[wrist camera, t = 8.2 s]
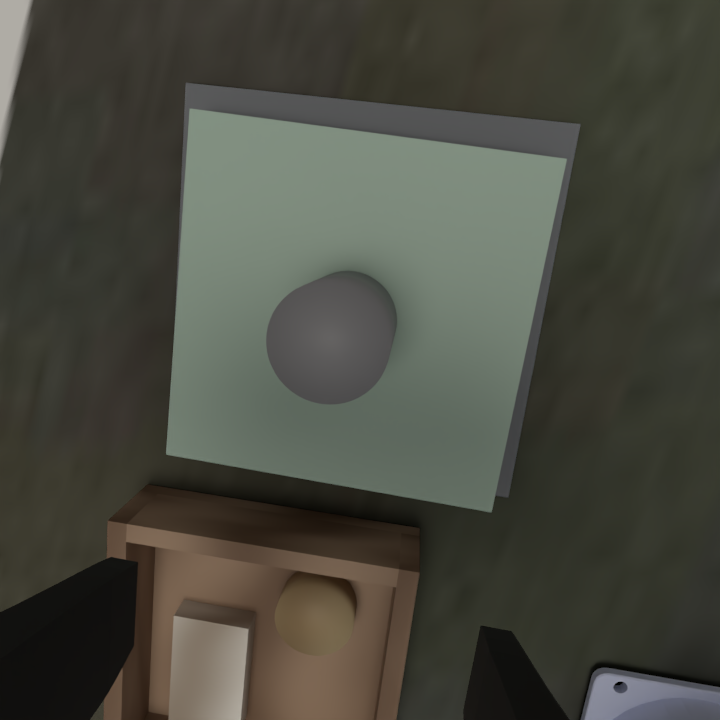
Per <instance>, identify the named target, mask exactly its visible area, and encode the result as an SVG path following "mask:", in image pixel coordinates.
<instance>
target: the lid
mask: <svg viewBox="0 0 720 720" xmlns="http://www.w3.org/2000/svg"><path fill="white" fill-rule="evenodd" d="M566 161H567V159H564V158H557V157H549V156H542V155H534V154H527V153H519V152H512V151H504V150H497V149H490V148H482V147H475V146H467V145H460V144H452V143H445V142H437V141H430V140H422V139H415V138H407V137H400V136H392V135H385V134H377V133H370V132H362V131H355V130H347V129H340V128H332V127H325V126H318V125H310V124H303V123H295V122H288V121H280V120H273V119H265V118H258V117H250V116H243V115H235V114H228V113H220V112H213V111H205V110H198V109H190V111H189V125H188V140H187V155H186V169H185V184H184V199H183V213H182V228H181V243H180V257H179V272H178V287H177V301H176V316H175V331H174V345H173V360H172V375H171V389H170V404H169V419H168V433H167V448H166V455H172V456H177V457H183V458H189V459H194V460H200V461H205V462H211V463H217V464H222V465H228V466H233V467H239V468H245V469H250V470H256V471H261V472H267V473H273V474H278V475H284V476H290V477H295V478H301V479H306V480H312V481H318V482H323V483H329V484H334V485H340V486H346V487H351V488H357V489H362V490H368V491H374V492H379V493H385V494H391V495H396V496H402V497H407V498H413V499H419V500H424V501H430V502H435V503H441V504H447V505H452V506H458V507H463V508H469V509H475V510H480V511H486V512H492V508H493V503H494V499H495V494H496V489H497V485H498V480H499V475H500V470H501V466H502V461H503V456H504V452H505V447H506V442H507V438H508V433H509V428H510V424H511V419H512V414H513V410H514V405H515V400H516V396H517V391H518V386H519V381H520V377H521V372H522V367H523V363H524V358H525V353H526V349H527V344H528V339H529V335H530V330H531V325H532V321H533V316H534V311H535V307H536V302H537V297H538V292H539V288H540V283H541V278H542V274H543V269H544V264H545V260H546V255H547V250H548V246H549V241H550V236H551V232H552V227H553V222H554V218H555V213H556V208H557V204H558V199H559V194H560V189H561V185H562V180H563V175H564V171H565V166H566Z"/></svg>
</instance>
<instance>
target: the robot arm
mask: <svg viewBox="0 0 720 720" xmlns="http://www.w3.org/2000/svg"><path fill="white" fill-rule="evenodd" d="M137 576H138V562H135V561H130V560H125V559H119V558H114V557H110V558H107V559H105V560H103V561H101V562H99V563H97V564H95V565H93V566H91V567H89V568H87V569H85V570H83V571H81V572H79V573H77V574H75V575H73V576H71V577H69V578H67V579H65V580H64V581H62V582H60V583H58V584H56V585H54V586H52V587H50V588H48V589H46V590H44V591H42V592H40V593H38V594H36V595H34V596H32V597H31V598H29V599H27V600H25V601H23V602H21V603H19V604H17V605H15V606H13V607H11V608H8V609H6V610H4V611H2V612H0V720H90V719H91V717H92V716H93V714H94V713H95V712H96V710H97V709H98V707H99V706H100V704H101V703H102V701H103V700H104V699H105V697H106V696H107V694H108V693H109V691H110V689H111V687H112V686H113V684H114V682H115V680H116V678H117V677H118V675H119V673H120V671H121V669H122V668H123V666H124V664H125V662H126V660H127V658H128V656H129V654H130V652H131V651H132V649H133V647H134V637H135V617H136V596H137ZM617 682H623V683H622V684H621V685H615V683H617ZM463 714H464V720H569V718H568V717H567V716H566V714H565V713H564V711H563V710H562V708H561V707H560V705H559V704H558V703H557V701H556V700H555V698H554V697H553V695H552V694H551V692H550V691H549V689H548V688H547V686H546V685H545V683H544V681H543V680H542V678H541V677H540V675H539V674H538V672H537V671H536V669H535V667H534V666H533V664H532V663H531V661H530V659H529V658H528V656H527V655H526V653H525V651H524V650H523V648H522V647H521V645H520V643H519V642H518V640H517V639H516V637H515V636H514V634H513V633H512V631H507V630H502V629H496V628H491V627H486V626H481V627H480V632H479V637H478V642H477V647H476V652H475V657H474V662H473V666H472V671H471V676H470V681H469V686H468V691H467V696H466V701H465V705H464V710H463ZM581 720H720V687H715V686H709V685H704V684H698V683H692V682H686V681H681V680H675V679H669V678H664V677H658V676H652V675H646V674H641V673H635V672H629V671H623V670H618V669H612V668H599V669H597V670H596V671H594V672H593V674H592V676H591V680H590V684H589V688H588V692H587V696H586V700H585V704H584V708H583V712H582V716H581Z"/></svg>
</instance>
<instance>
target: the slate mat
mask: <svg viewBox="0 0 720 720" xmlns="http://www.w3.org/2000/svg"><path fill="white" fill-rule="evenodd" d="M190 109H198V110H205V111H213V112H220V113H228V114H235V115H243V116H250V117H258V118H265V119H273V120H280V121H288V122H295V123H303V124H310V125H318V126H325V127H332V128H340V129H347V130H355V131H362V132H370V133H377V134H385V135H392V136H400V137H407V138H415V139H422V140H430V141H437V142H445V143H452V144H460V145H467V146H475V147H482V148H490V149H497V150H504V151H512V152H519V153H527V154H534V155H542V156H549V157H557V158H564V159H567V161H566V166H565V171H564V175H563V180H562V185H561V189H560V194H559V199H558V204H557V208H556V213H555V218H554V222H553V227H552V232H551V236H550V241H549V246H548V250H547V255H546V260H545V264H544V269H543V274H542V278H541V283H540V288H539V292H538V297H537V302H536V307H535V311H534V316H533V321H532V325H531V330H530V335H529V339H528V344H527V349H526V353H525V358H524V363H523V367H522V372H521V377H520V381H519V386H518V391H517V396H516V400H515V405H514V410H513V414H512V419H511V424H510V428H509V433H508V438H507V442H506V447H505V452H504V456H503V461H502V466H501V470H500V475H499V480H498V485H497V489H496V494H495V496H501V497H507V498H508V497H509V491H510V486H511V481H512V476H513V471H514V466H515V460H516V455H517V450H518V445H519V440H520V434H521V429H522V424H523V419H524V414H525V409H526V403H527V398H528V393H529V388H530V383H531V378H532V372H533V367H534V362H535V357H536V352H537V347H538V341H539V336H540V331H541V326H542V321H543V316H544V310H545V305H546V300H547V295H548V290H549V284H550V279H551V274H552V269H553V264H554V259H555V253H556V248H557V243H558V238H559V233H560V228H561V222H562V217H563V212H564V207H565V202H566V197H567V191H568V186H569V181H570V176H571V171H572V165H573V160H574V155H575V150H576V145H577V140H578V134H579V129H580V124H574V123H565V122H555V121H545V120H536V119H526V118H517V117H507V116H498V115H488V114H479V113H469V112H460V111H450V110H440V109H431V108H421V107H412V106H402V105H393V104H383V103H374V102H364V101H355V100H345V99H335V98H326V97H316V96H307V95H297V94H288V93H278V92H269V91H259V90H250V89H240V88H231V87H221V86H211V85H202V84H192V83H186V89H185V111H184V133H183V155H182V177H181V199H180V221H179V243H178V265H177V287H178V272H179V257H180V243H181V228H182V213H183V199H184V184H185V169H186V155H187V140H188V125H189V111H190ZM176 301H177V288H176ZM175 316H176V310H175Z"/></svg>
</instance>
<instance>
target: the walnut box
mask: <svg viewBox="0 0 720 720" xmlns="http://www.w3.org/2000/svg"><path fill="white" fill-rule="evenodd" d="M110 557H114V558H119V559H125V560H130V561H135V562H138V576H137V596H136V617H135V637H134V647H133V649H132V651H131V652H130V654H129V656H128V658H127V660H126V662H125V664H124V666H123V668H122V669H121V671H120V673H119V675H118V677H117V678H116V680H115V682H114V684H113V686H112V687H111V689H110V691H109V693H108V694H107V696H106V697H105V699H104V720H396V718H397V711H398V705H399V699H400V693H401V686H402V680H403V674H404V668H405V661H406V655H407V649H408V643H409V636H410V630H411V624H412V618H413V611H414V605H415V599H416V593H417V586H418V580H419V574H420V528H416V527H410V526H404V525H397V524H391V523H385V522H379V521H373V520H366V519H360V518H354V517H348V516H341V515H335V514H329V513H323V512H316V511H310V510H304V509H298V508H291V507H285V506H279V505H273V504H267V503H260V502H254V501H248V500H242V499H235V498H229V497H223V496H217V495H210V494H204V493H198V492H192V491H186V490H179V489H173V488H167V487H161V486H154V485H148V484H147V485H146V486H145V487H144V488H143V489H142V490H141V491H140V492H139V493H138V494H137V495H135V496H134V497H133V498H132V499H131V500H130V501H129V502H128V503H127V504H126V505H124V506H123V507H122V508H121V509H120V510H119V511H118V512H117V513H116V514H115V515H113V516H112V517H111V518H110V519H109V520H108V528H107V558H110Z"/></svg>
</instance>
